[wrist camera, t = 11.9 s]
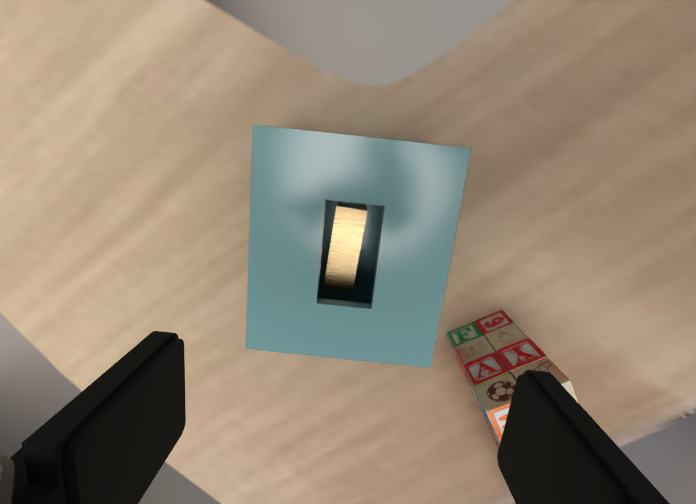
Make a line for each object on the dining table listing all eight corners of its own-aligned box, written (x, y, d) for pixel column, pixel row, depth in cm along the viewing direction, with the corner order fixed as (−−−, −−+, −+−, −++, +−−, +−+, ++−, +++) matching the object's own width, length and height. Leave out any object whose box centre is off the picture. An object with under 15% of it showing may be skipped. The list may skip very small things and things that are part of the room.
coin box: (436, 151, 32) (471, 148, 23) (410, 312, 36) (430, 367, 27) (283, 134, 32) (253, 124, 22) (275, 297, 36) (245, 348, 27)
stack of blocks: (564, 462, 41) (650, 586, 29) (512, 480, 42) (575, 608, 30) (501, 307, 36) (573, 381, 24) (444, 331, 37) (486, 413, 25)
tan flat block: (352, 273, 35) (365, 203, 33) (352, 291, 30) (367, 211, 28) (327, 269, 35) (339, 199, 33) (323, 287, 30) (336, 205, 28)
